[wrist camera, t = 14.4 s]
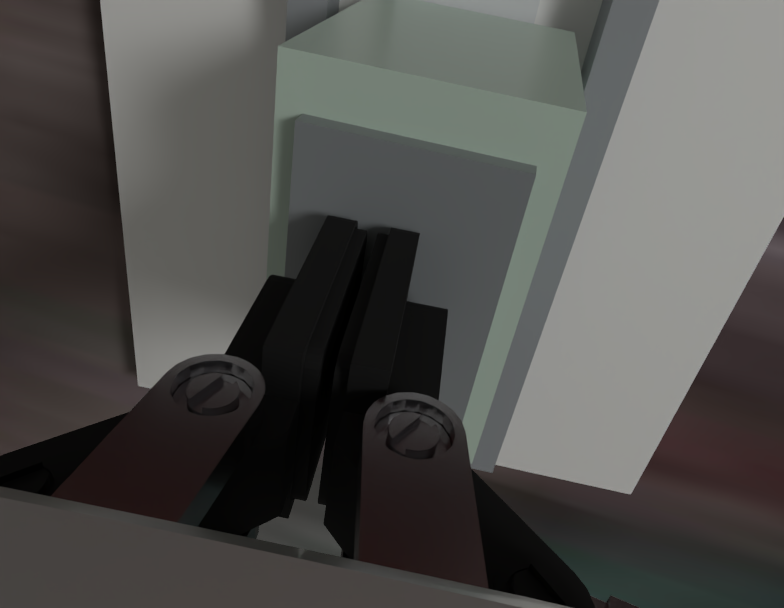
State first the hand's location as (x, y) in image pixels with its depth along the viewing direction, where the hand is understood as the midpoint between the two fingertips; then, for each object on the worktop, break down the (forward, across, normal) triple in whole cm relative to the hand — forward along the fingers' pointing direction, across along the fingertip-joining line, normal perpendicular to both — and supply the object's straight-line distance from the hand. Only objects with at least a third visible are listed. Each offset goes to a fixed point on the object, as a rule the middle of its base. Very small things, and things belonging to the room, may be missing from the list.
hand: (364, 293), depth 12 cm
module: (+7, -1, 0) cm, 7 cm away
